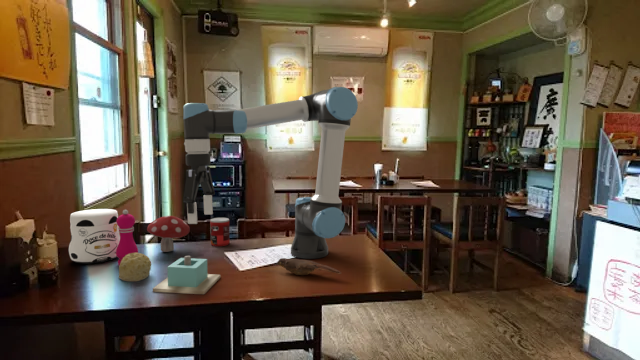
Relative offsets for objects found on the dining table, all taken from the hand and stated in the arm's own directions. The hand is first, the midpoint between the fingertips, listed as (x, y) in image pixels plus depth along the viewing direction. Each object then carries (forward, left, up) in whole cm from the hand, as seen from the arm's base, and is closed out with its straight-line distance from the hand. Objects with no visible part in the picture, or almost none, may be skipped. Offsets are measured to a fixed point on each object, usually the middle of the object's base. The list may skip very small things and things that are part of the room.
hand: (201, 218), depth 127 cm
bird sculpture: (-33, -8, -20) cm, 40 cm away
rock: (+23, +1, -20) cm, 30 cm away
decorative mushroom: (+25, -27, -20) cm, 42 cm away
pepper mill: (+33, -11, -20) cm, 40 cm away
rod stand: (+3, +5, -20) cm, 21 cm away
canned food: (+9, -41, -20) cm, 46 cm away
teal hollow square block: (+2, +5, -19) cm, 20 cm away
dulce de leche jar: (+47, -14, -20) cm, 53 cm away
